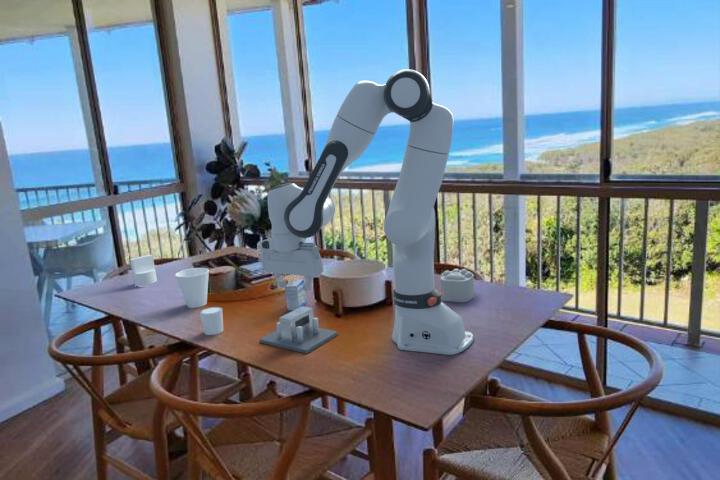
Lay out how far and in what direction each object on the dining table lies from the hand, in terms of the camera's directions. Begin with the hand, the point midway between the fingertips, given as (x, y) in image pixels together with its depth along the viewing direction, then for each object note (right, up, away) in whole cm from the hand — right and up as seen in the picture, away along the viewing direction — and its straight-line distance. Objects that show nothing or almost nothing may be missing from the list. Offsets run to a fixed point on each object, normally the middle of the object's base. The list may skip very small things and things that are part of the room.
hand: (294, 288), depth 149 cm
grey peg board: (+1, -15, +3) cm, 15 cm away
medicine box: (-3, -9, +31) cm, 32 cm away
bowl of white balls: (+52, -5, +30) cm, 60 cm away
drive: (+1, -14, +3) cm, 14 cm away
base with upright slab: (-73, -5, +74) cm, 104 cm away
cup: (-41, -10, +41) cm, 59 cm away
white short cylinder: (-27, -15, +14) cm, 34 cm away
